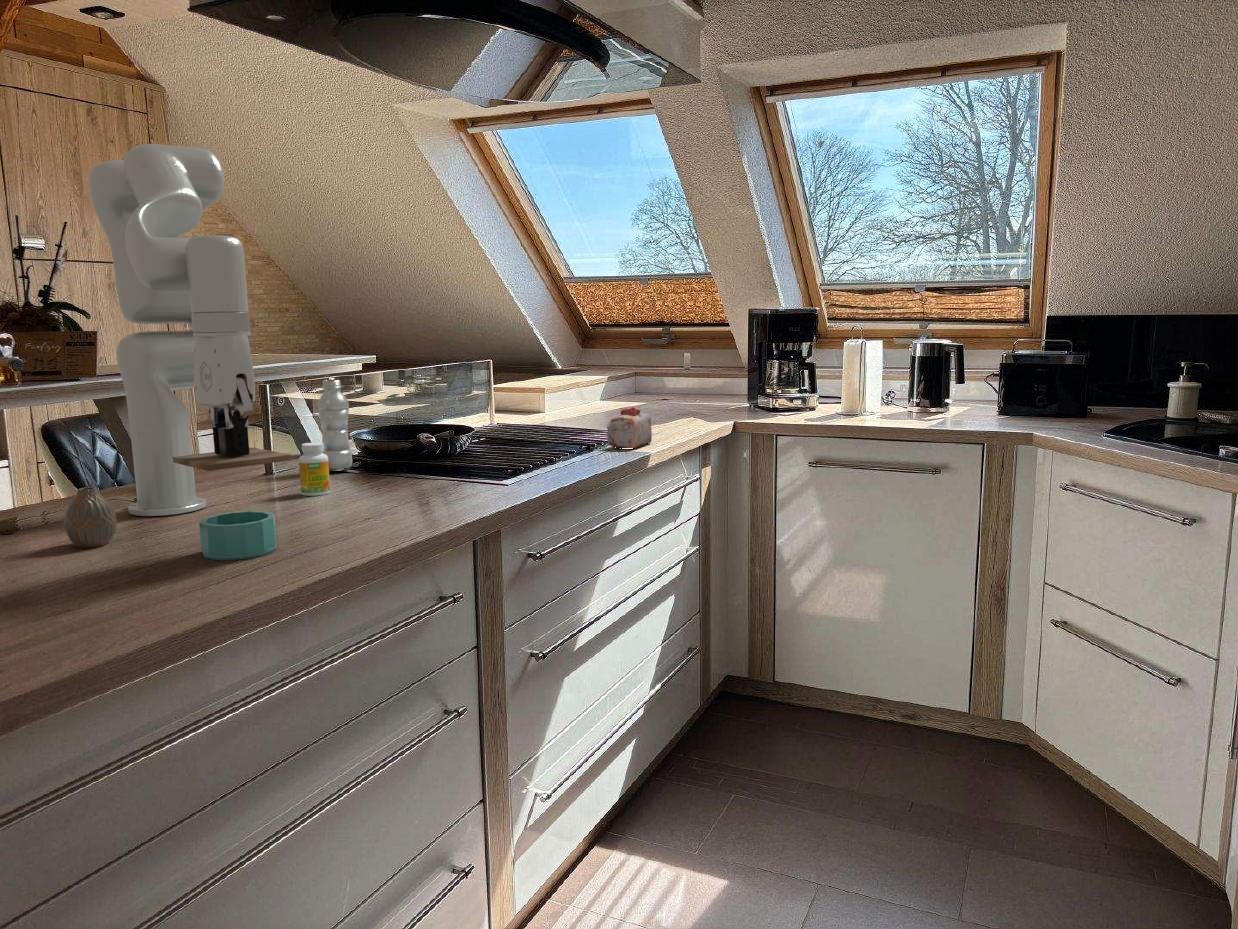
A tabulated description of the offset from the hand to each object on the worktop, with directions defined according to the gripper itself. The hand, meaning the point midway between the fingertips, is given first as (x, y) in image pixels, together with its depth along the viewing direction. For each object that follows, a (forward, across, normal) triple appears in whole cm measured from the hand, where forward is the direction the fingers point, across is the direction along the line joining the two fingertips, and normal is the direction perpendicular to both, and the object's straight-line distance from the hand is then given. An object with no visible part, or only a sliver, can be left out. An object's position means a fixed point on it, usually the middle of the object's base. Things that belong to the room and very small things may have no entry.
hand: (232, 453), depth 137 cm
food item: (+15, -28, +113) cm, 117 cm away
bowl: (+15, 0, 0) cm, 15 cm away
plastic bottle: (+15, -53, +46) cm, 72 cm away
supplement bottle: (+15, -33, +30) cm, 47 cm away
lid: (+1, 0, 0) cm, 1 cm away
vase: (+15, -22, -13) cm, 30 cm away
